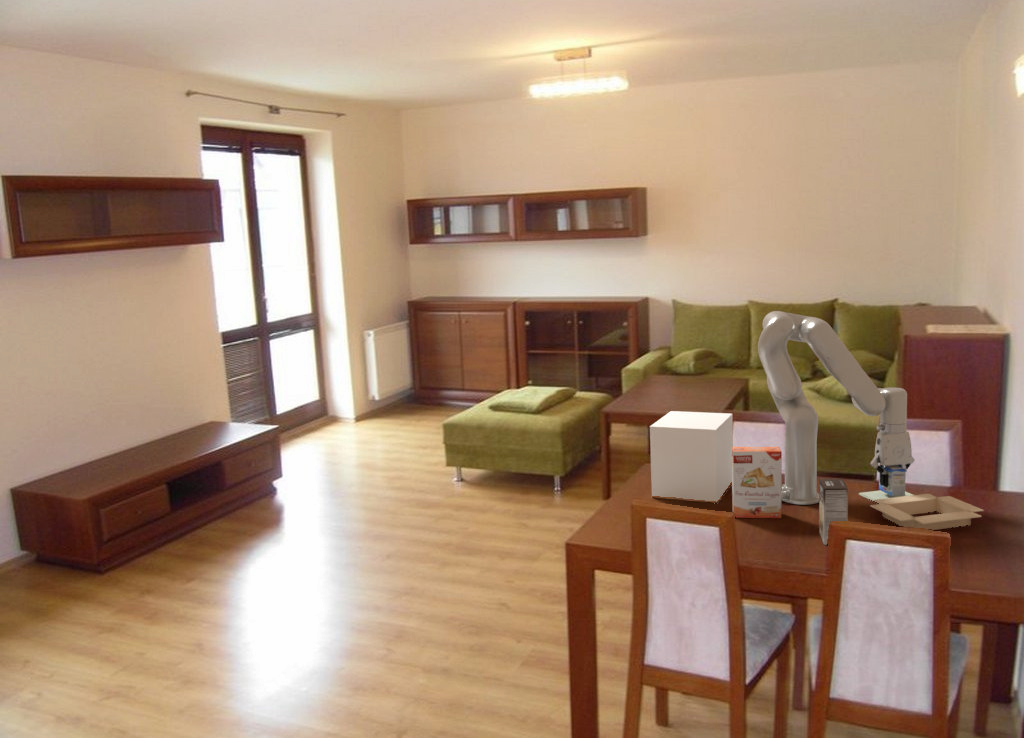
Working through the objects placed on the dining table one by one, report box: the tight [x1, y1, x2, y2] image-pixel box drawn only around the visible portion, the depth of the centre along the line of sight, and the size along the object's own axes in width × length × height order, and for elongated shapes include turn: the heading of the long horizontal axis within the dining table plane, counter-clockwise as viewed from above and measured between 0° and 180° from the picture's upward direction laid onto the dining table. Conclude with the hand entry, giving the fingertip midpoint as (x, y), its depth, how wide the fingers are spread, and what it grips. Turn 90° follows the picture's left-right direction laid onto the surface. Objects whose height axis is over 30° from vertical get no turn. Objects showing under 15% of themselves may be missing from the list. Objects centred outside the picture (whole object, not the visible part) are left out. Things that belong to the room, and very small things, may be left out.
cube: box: [649, 410, 734, 502], centre depth 280 cm, size 25×21×24 cm
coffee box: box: [818, 478, 849, 546], centre depth 229 cm, size 9×6×16 cm
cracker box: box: [731, 446, 783, 519], centre depth 251 cm, size 14×6×21 cm, turn 80°
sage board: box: [858, 489, 914, 504], centre depth 262 cm, size 14×14×1 cm
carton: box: [869, 493, 985, 531], centre depth 240 cm, size 26×22×4 cm
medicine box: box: [878, 465, 907, 496], centre depth 261 cm, size 8×4×9 cm, turn 5°
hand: (892, 484), depth 261 cm, fingers closed on medicine box, 4 cm apart
